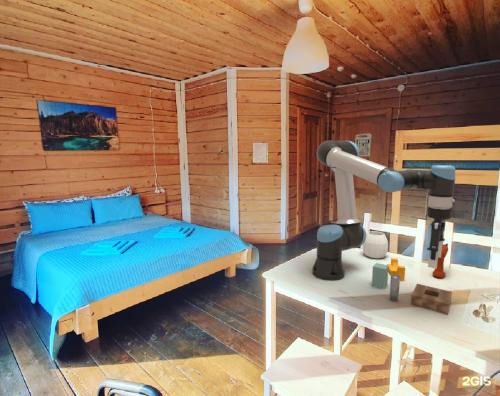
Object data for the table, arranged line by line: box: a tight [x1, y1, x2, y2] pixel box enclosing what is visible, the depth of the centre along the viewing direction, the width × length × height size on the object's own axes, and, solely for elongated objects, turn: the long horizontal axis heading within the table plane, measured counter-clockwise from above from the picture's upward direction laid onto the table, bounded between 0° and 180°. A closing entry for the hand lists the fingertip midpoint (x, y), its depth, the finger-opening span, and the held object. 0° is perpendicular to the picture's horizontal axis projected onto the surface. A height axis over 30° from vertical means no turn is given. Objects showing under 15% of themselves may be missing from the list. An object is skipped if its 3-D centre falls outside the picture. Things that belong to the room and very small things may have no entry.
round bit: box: [388, 274, 401, 303], centre depth 115 cm, size 3×3×10 cm
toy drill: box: [432, 243, 449, 279], centre depth 140 cm, size 5×19×15 cm, turn 137°
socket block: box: [410, 283, 453, 315], centre depth 113 cm, size 12×12×4 cm
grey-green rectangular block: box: [371, 262, 389, 290], centre depth 128 cm, size 5×5×9 cm
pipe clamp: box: [386, 257, 406, 282], centre depth 138 cm, size 12×4×6 cm, turn 170°
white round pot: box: [362, 230, 389, 260], centre depth 163 cm, size 13×13×14 cm
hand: (434, 262), depth 111 cm, fingers open, 13 cm apart
